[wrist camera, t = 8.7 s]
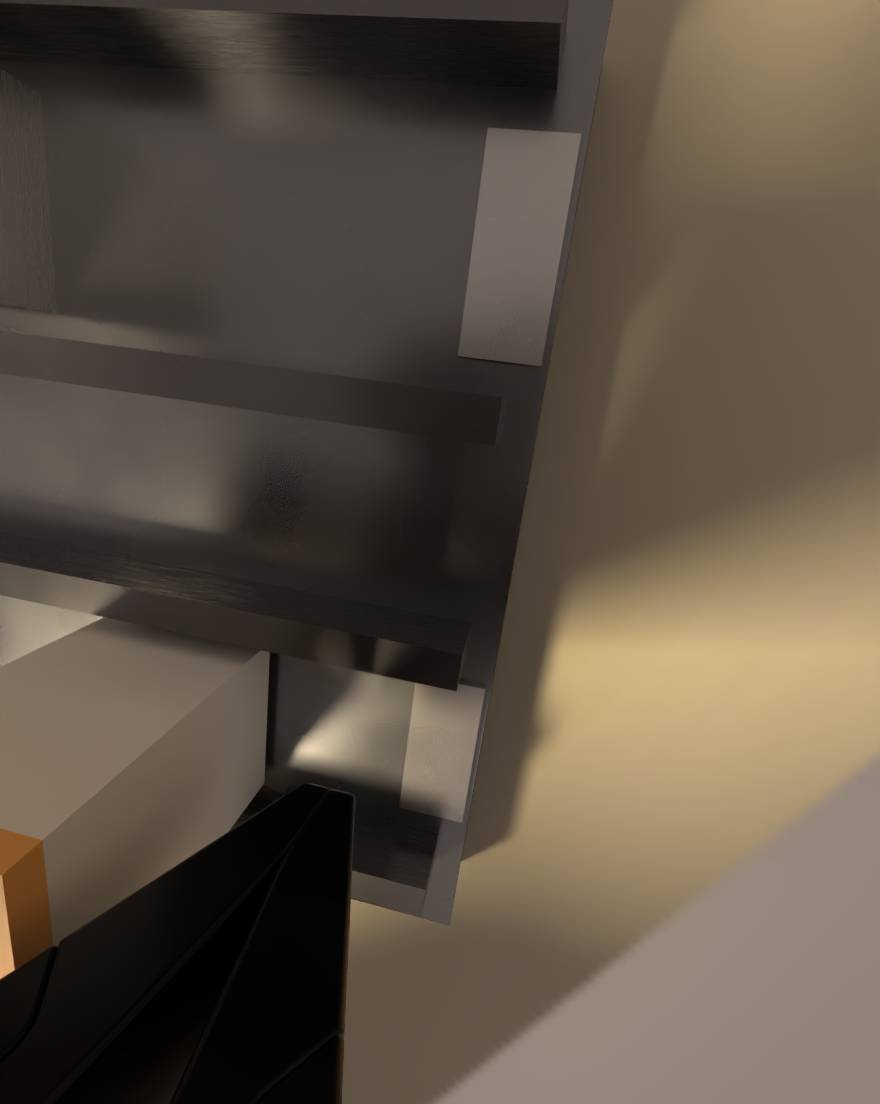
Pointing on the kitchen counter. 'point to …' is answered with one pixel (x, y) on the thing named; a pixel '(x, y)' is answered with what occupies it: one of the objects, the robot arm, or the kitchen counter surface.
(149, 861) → the block
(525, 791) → the kitchen counter surface
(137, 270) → the breaker panel
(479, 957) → the kitchen counter surface
